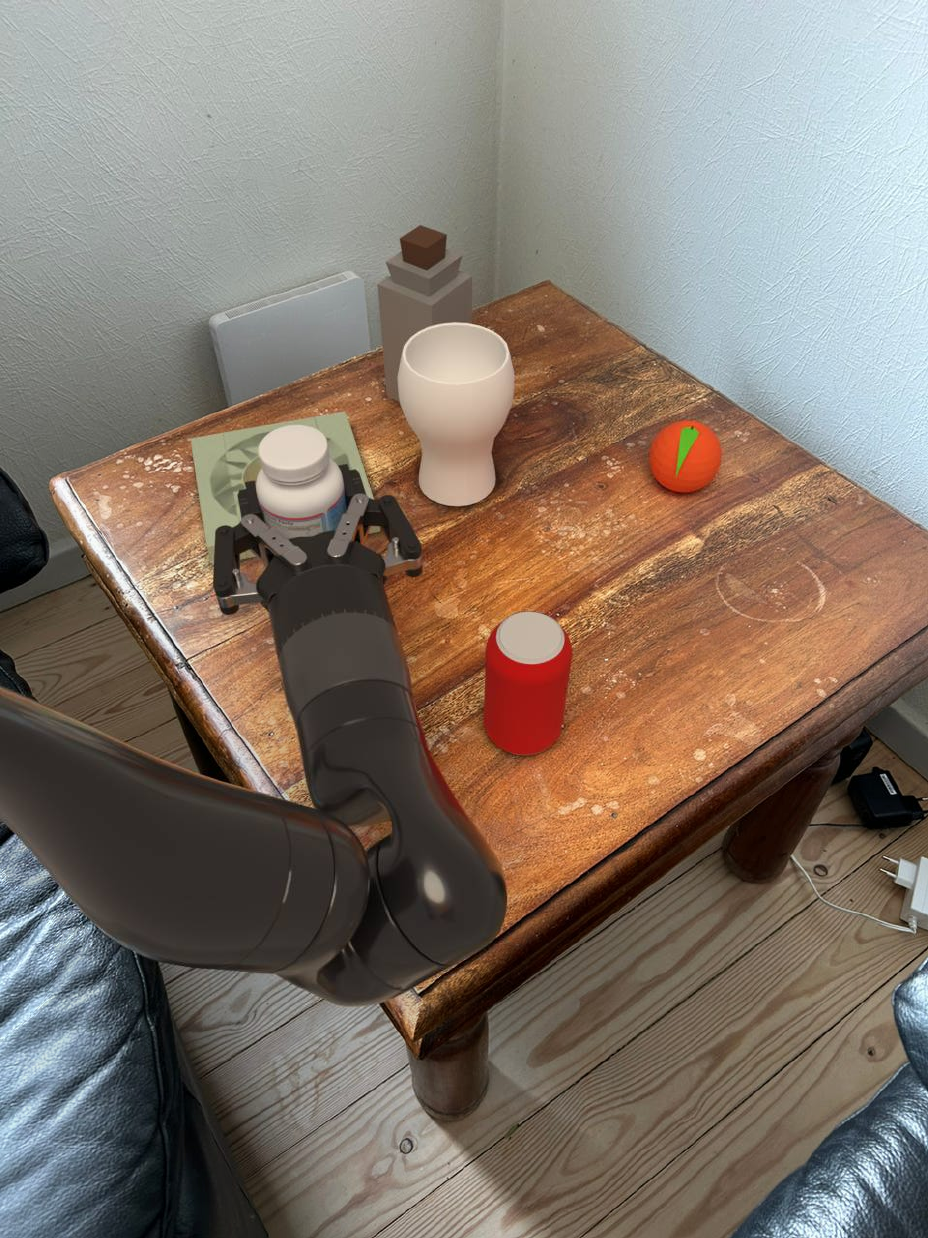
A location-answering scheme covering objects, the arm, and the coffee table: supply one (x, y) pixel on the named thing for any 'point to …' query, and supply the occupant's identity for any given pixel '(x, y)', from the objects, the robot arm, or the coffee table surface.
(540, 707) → the beverage can
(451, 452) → the cup
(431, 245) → the perfume bottle
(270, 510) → the pill bottle
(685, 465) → the clementine
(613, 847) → the coffee table surface
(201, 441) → the hole plate
